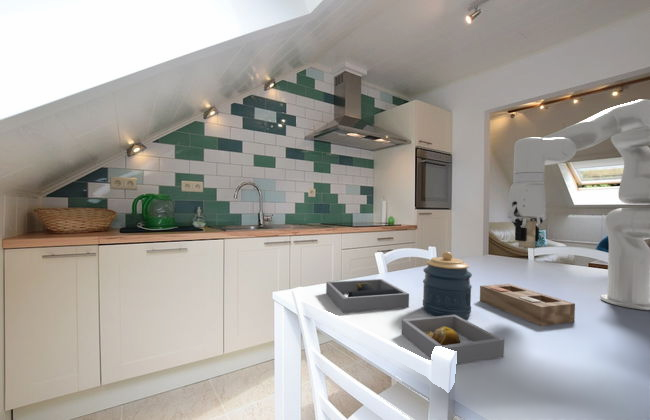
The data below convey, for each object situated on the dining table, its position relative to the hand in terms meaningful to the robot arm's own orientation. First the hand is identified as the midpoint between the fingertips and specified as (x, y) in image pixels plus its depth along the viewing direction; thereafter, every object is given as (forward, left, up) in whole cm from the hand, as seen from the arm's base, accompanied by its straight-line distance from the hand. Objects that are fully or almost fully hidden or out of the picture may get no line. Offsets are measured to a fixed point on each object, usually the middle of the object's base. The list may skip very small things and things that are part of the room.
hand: (526, 240), depth 85 cm
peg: (0, 0, -2) cm, 2 cm away
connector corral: (+44, -19, -21) cm, 52 cm away
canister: (+25, -4, -21) cm, 33 cm away
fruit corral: (+38, +13, -21) cm, 45 cm away
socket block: (+1, 0, -21) cm, 21 cm away
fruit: (+40, +11, -22) cm, 47 cm away
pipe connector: (+43, -17, -22) cm, 51 cm away
